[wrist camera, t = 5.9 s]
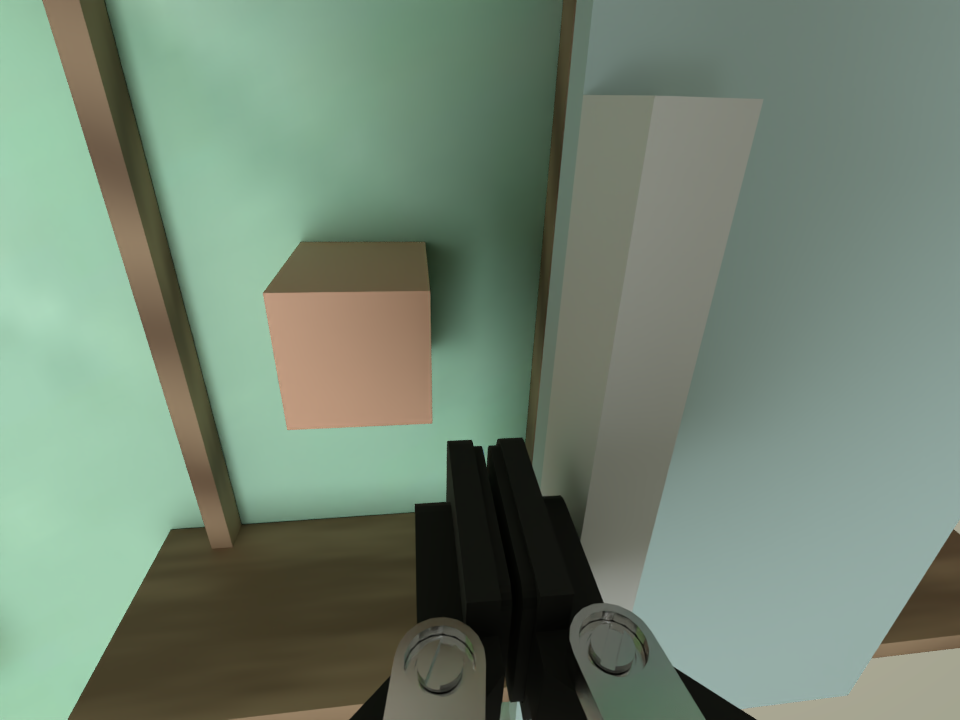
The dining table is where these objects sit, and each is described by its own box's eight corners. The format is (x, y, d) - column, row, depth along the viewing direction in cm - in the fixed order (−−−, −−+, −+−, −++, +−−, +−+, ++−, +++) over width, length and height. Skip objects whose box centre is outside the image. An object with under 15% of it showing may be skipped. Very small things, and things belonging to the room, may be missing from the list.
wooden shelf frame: (-68, -146, 14) (-786, -507, 6) (1165, -47, 19) (1761, -158, 11) (175, 543, 27) (66, 754, 18) (883, 491, 32) (1057, 636, 23)
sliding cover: (607, -331, 7) (790, -715, 4) (1353, -226, 9) (1948, -427, 6) (508, 709, 20) (530, 841, 16) (830, 670, 22) (911, 782, 18)
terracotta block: (301, 241, 20) (263, 293, 15) (425, 241, 21) (430, 290, 16) (315, 352, 23) (287, 429, 17) (427, 348, 23) (432, 423, 18)
